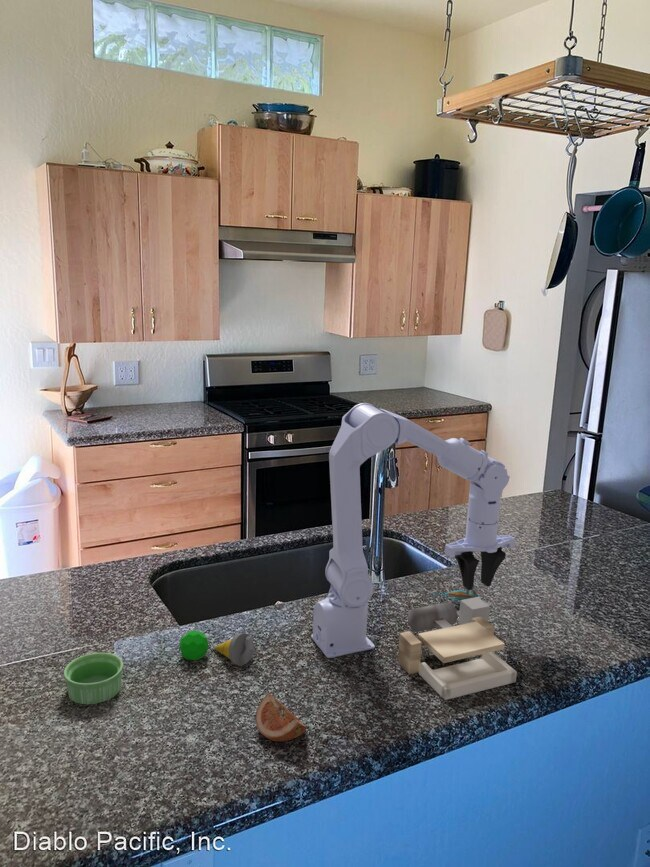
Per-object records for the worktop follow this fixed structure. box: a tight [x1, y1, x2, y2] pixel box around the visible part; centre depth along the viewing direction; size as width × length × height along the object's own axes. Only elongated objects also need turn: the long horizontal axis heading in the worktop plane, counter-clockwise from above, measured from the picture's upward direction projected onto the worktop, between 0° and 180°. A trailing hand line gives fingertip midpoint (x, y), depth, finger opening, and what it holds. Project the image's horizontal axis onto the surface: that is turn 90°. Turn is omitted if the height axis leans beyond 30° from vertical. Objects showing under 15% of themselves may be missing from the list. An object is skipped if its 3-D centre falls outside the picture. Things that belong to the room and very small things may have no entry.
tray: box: [418, 651, 518, 701], centre depth 116 cm, size 14×8×2 cm, turn 113°
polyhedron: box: [178, 630, 210, 661], centre depth 120 cm, size 5×5×5 cm
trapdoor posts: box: [397, 616, 495, 675], centre depth 121 cm, size 4×17×6 cm, turn 113°
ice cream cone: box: [213, 632, 257, 667], centre depth 120 cm, size 5×5×10 cm
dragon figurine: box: [430, 584, 479, 602], centre depth 143 cm, size 6×7×8 cm
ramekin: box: [63, 652, 124, 705], centre depth 109 cm, size 9×9×4 cm
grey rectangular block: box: [458, 596, 491, 625], centre depth 133 cm, size 4×4×5 cm
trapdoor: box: [407, 601, 506, 664], centre depth 120 cm, size 15×12×4 cm
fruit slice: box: [255, 692, 308, 742], centre depth 100 cm, size 8×7×5 cm
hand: (476, 586), depth 132 cm, fingers open, 4 cm apart
